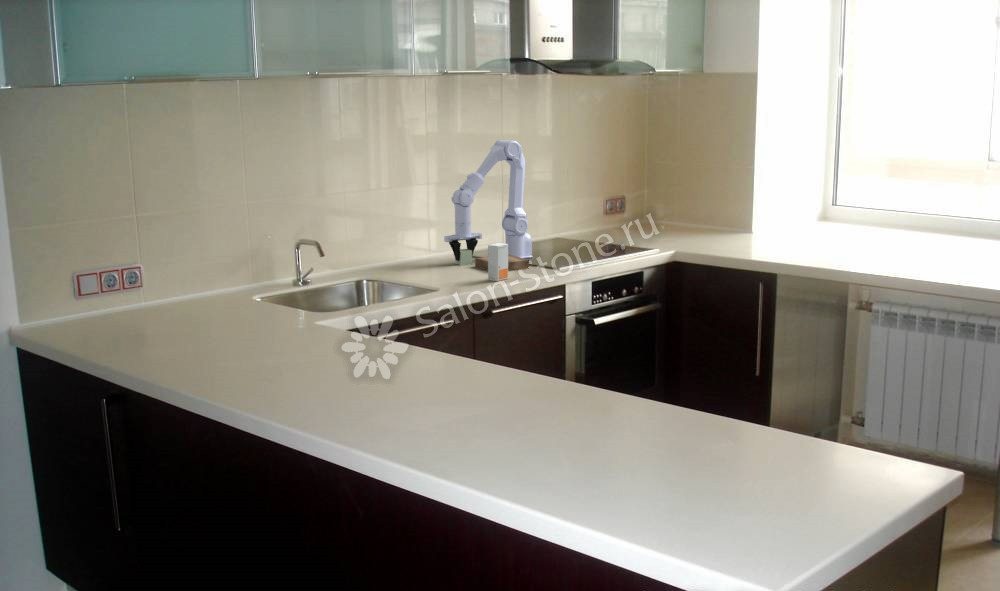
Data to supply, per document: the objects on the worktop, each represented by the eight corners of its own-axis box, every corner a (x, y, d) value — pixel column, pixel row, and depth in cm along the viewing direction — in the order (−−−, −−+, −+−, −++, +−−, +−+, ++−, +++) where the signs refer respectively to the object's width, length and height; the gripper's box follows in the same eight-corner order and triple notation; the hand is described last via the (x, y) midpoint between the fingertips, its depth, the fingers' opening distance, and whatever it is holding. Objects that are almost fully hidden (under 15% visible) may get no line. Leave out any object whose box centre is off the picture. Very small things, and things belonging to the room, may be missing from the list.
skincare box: (497, 281, 332) (497, 246, 329) (487, 280, 334) (487, 245, 331) (508, 278, 336) (508, 243, 334) (498, 277, 339) (498, 242, 336)
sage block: (466, 262, 367) (466, 248, 366) (472, 263, 363) (471, 250, 362) (455, 263, 365) (455, 249, 364) (461, 265, 361) (460, 251, 360)
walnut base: (508, 262, 366) (508, 254, 365) (528, 268, 354) (528, 260, 353) (475, 266, 359) (475, 258, 358) (494, 272, 347) (494, 264, 346)
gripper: (450, 225, 354) (451, 263, 357) (485, 222, 361) (486, 259, 364) (441, 223, 360) (442, 260, 363) (476, 220, 367) (476, 256, 370)
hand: (463, 259), depth 364 cm, fingers closed on sage block, 4 cm apart
